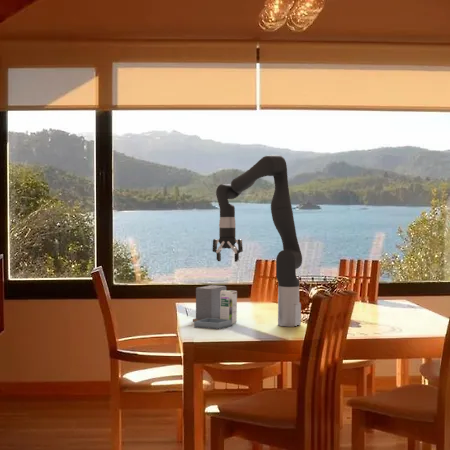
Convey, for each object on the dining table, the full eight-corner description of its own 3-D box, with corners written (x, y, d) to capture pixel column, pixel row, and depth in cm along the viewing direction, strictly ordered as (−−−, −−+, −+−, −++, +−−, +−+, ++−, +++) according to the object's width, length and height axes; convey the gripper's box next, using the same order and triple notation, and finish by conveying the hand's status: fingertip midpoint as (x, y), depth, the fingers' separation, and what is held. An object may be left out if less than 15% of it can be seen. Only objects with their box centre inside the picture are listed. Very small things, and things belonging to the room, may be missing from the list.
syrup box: (219, 323, 366) (219, 290, 365) (225, 321, 371) (226, 289, 371) (231, 324, 363) (231, 291, 363) (237, 322, 369) (237, 290, 368)
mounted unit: (229, 318, 381) (229, 286, 380) (212, 323, 367) (212, 289, 366) (210, 316, 385) (210, 284, 385) (192, 321, 371) (192, 288, 371)
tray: (232, 325, 360) (232, 319, 360) (218, 329, 349) (218, 323, 349) (208, 323, 365) (208, 317, 365) (194, 327, 355) (194, 321, 355)
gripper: (244, 226, 387) (244, 261, 387) (216, 226, 392) (216, 260, 392) (238, 227, 380) (238, 262, 380) (210, 226, 385) (210, 261, 386)
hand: (227, 261), depth 386 cm, fingers open, 8 cm apart
